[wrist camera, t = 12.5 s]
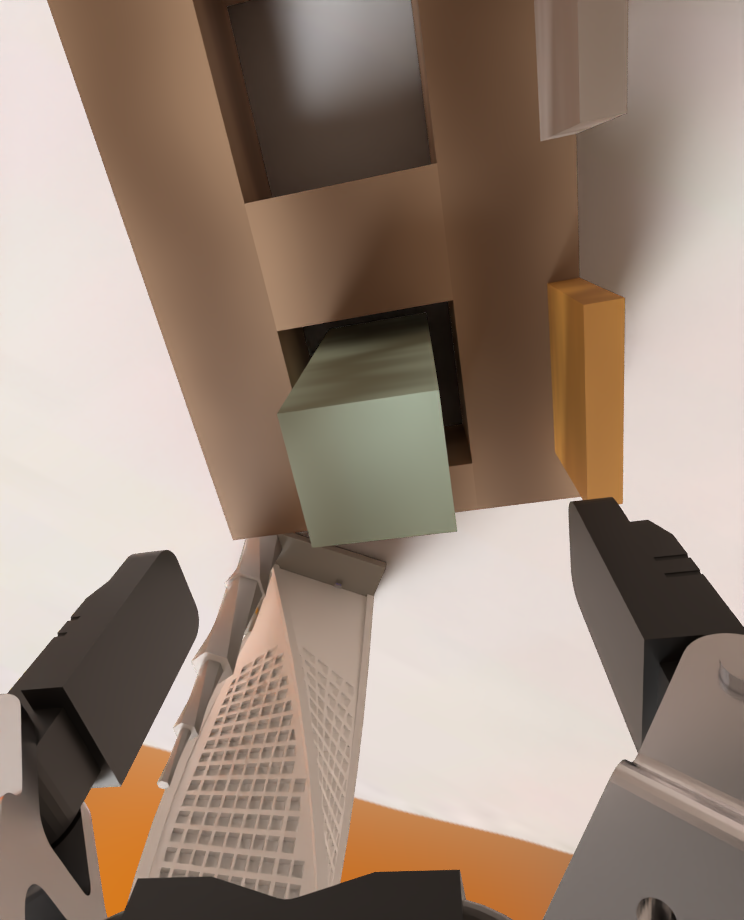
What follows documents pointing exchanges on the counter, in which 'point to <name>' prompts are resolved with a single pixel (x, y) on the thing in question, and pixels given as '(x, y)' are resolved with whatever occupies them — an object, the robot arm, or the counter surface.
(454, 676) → the counter surface
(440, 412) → the green plug
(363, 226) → the socket block
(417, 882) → the robot arm
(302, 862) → the skyscraper
